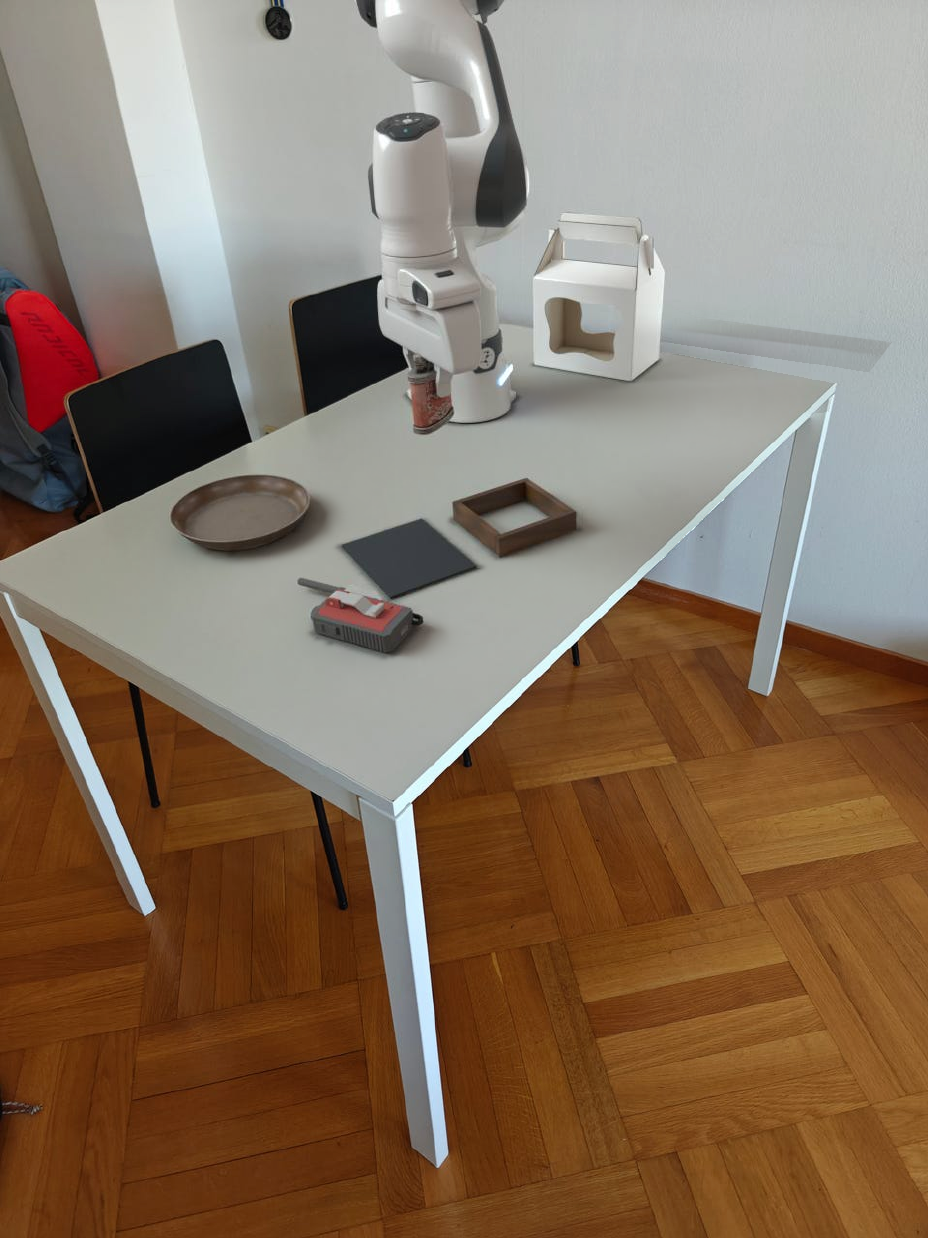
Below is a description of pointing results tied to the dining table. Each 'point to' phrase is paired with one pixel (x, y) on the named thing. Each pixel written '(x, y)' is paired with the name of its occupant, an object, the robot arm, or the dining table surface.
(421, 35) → the robot arm
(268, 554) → the dining table surface
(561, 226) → the gable box
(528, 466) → the dining table surface
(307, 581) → the walkie-talkie
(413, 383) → the lighter
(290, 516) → the plant saucer
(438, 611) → the dining table surface
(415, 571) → the mat
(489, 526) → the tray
